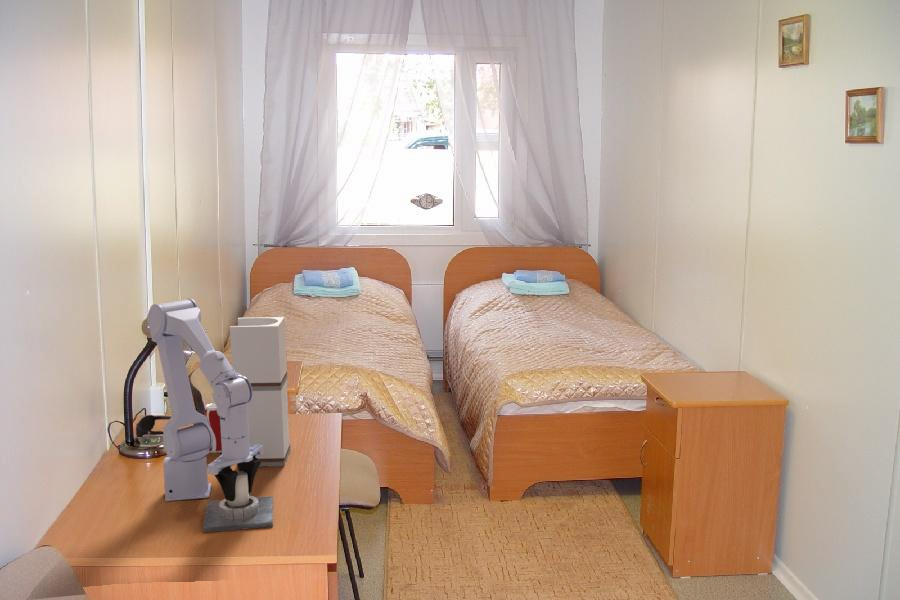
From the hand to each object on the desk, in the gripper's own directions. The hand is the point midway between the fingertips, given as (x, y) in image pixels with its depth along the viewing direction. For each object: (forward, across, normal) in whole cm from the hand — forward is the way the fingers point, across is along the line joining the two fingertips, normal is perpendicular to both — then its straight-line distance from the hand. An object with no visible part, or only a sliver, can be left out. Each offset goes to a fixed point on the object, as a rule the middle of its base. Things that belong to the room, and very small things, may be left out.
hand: (238, 495), depth 199 cm
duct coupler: (+2, 0, 0) cm, 2 cm away
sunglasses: (+5, +29, +53) cm, 61 cm away
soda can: (+5, +28, +34) cm, 44 cm away
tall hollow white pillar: (+5, +29, +19) cm, 35 cm away
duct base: (+4, 0, 0) cm, 4 cm away
